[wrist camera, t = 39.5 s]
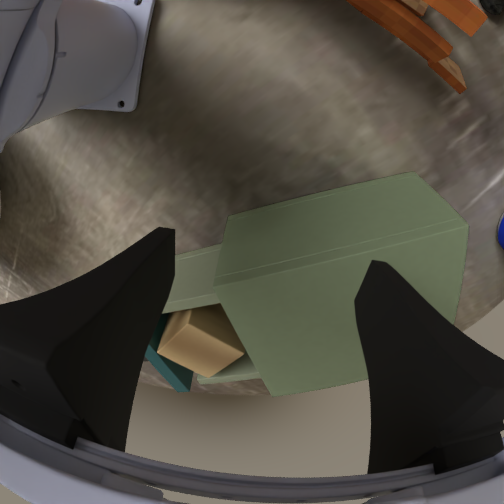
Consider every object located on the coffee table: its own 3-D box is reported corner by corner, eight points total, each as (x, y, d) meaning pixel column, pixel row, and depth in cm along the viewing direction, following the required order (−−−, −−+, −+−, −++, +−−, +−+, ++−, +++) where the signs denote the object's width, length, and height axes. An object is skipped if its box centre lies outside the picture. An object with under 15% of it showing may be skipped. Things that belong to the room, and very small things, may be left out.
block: (216, 329, 25) (208, 378, 21) (171, 304, 24) (156, 353, 20) (249, 301, 23) (245, 354, 19) (201, 271, 22) (187, 323, 18)
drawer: (151, 346, 29) (136, 393, 24) (94, 267, 24) (63, 315, 19) (320, 318, 26) (328, 373, 21) (293, 213, 20) (301, 265, 16)
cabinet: (272, 325, 28) (272, 397, 21) (227, 215, 22) (211, 287, 15) (415, 291, 25) (445, 356, 19) (413, 170, 19) (469, 224, 13)
